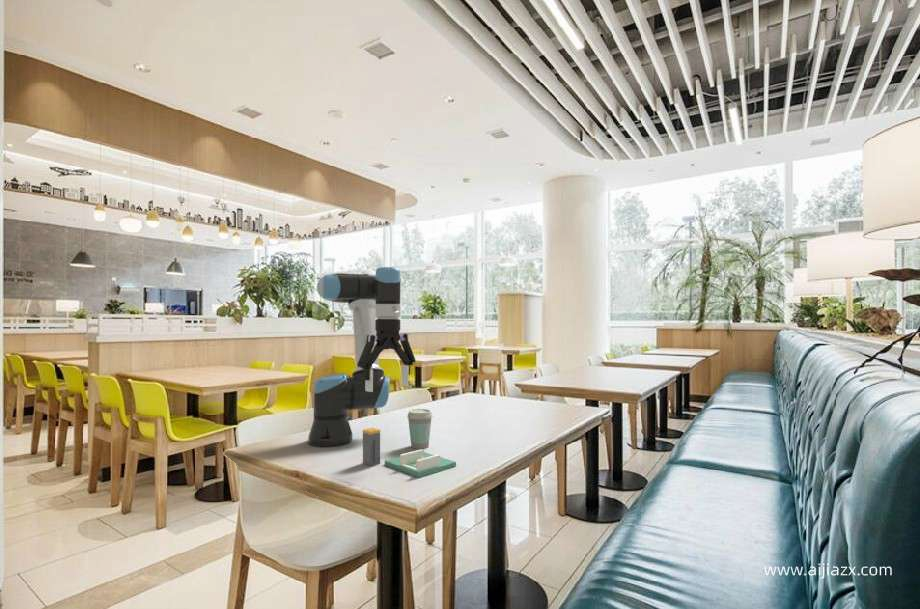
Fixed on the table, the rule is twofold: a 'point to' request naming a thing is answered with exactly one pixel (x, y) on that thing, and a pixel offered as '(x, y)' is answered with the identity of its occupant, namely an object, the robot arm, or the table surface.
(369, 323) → the robot arm
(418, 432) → the coffee cup
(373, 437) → the plug
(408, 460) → the board
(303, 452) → the table surface
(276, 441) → the table surface
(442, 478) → the table surface
